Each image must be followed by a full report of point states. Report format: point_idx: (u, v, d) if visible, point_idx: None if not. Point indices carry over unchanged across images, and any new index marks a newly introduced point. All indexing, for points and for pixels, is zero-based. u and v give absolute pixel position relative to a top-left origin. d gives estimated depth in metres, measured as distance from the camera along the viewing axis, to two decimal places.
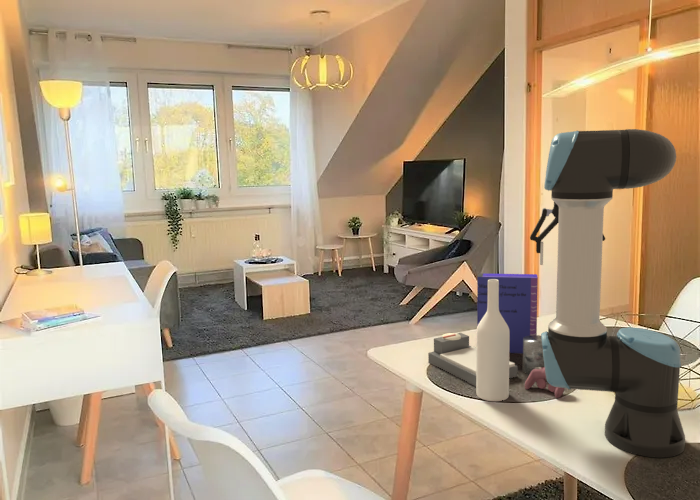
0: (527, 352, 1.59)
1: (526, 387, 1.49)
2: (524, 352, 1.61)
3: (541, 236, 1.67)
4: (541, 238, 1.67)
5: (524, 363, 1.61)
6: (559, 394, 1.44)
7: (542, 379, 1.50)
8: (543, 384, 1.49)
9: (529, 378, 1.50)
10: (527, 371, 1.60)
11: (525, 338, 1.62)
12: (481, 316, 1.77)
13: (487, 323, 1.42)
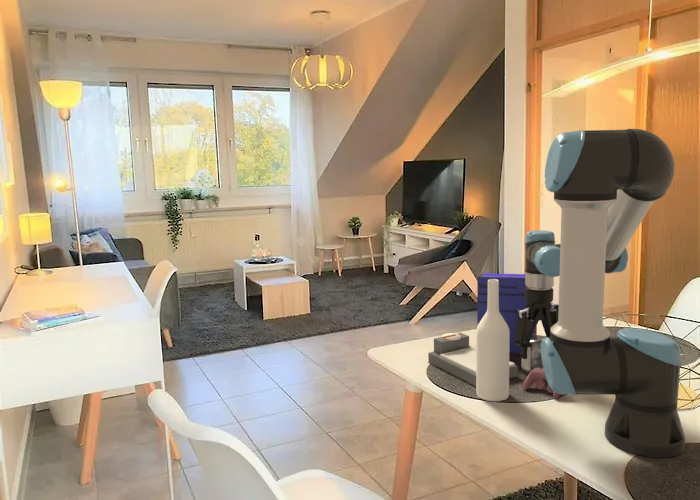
0: None
1: (525, 388, 1.49)
2: None
3: (528, 341, 1.57)
4: (528, 342, 1.58)
5: None
6: (558, 395, 1.43)
7: (541, 380, 1.49)
8: (542, 385, 1.49)
9: (528, 379, 1.50)
10: (527, 371, 1.60)
11: None
12: (481, 316, 1.77)
13: (487, 324, 1.42)
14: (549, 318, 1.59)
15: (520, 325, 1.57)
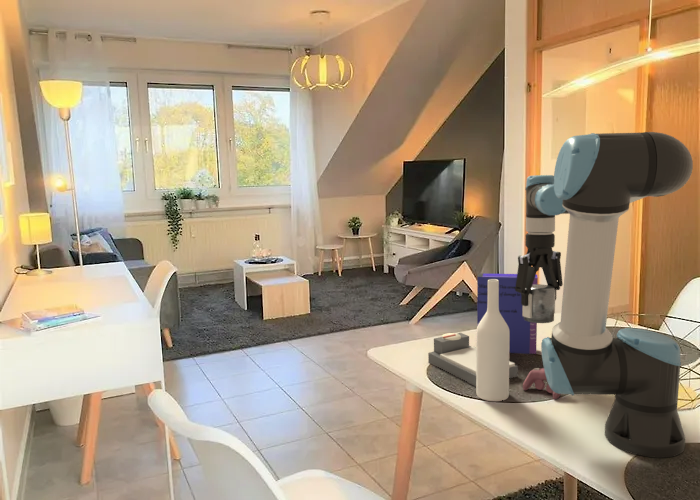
0: None
1: (524, 388, 1.49)
2: None
3: (529, 287, 1.55)
4: (529, 289, 1.55)
5: None
6: (557, 395, 1.43)
7: (540, 380, 1.49)
8: (541, 385, 1.48)
9: (527, 379, 1.49)
10: (528, 319, 1.57)
11: None
12: (481, 317, 1.77)
13: (487, 324, 1.42)
14: (550, 265, 1.57)
15: (521, 271, 1.54)
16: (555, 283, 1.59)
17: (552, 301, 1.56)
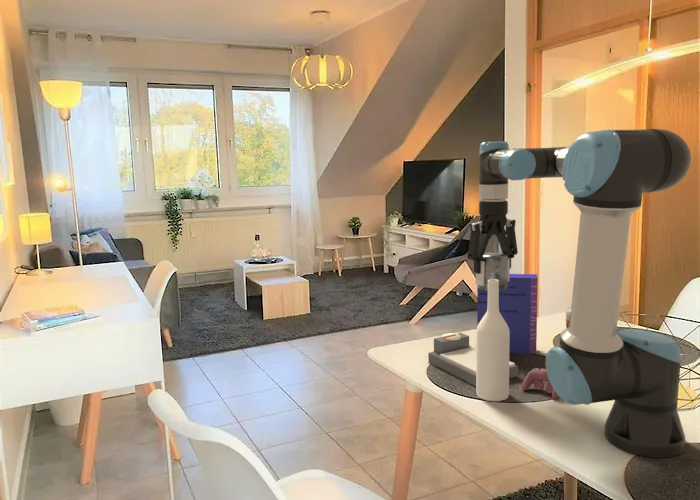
0: None
1: (523, 388, 1.49)
2: None
3: (481, 254, 1.54)
4: (481, 256, 1.54)
5: None
6: (557, 395, 1.43)
7: (539, 380, 1.49)
8: (540, 385, 1.48)
9: (526, 379, 1.49)
10: (481, 287, 1.57)
11: None
12: (481, 317, 1.77)
13: (487, 323, 1.42)
14: (504, 232, 1.56)
15: (473, 238, 1.53)
16: (509, 251, 1.58)
17: (505, 269, 1.55)
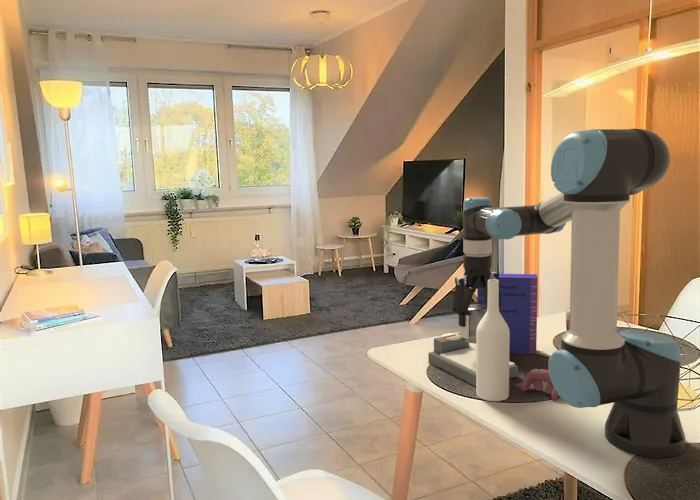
0: None
1: (523, 389, 1.48)
2: None
3: (466, 308, 1.56)
4: (466, 310, 1.56)
5: None
6: (556, 396, 1.42)
7: (539, 381, 1.48)
8: (540, 386, 1.48)
9: (526, 380, 1.49)
10: (466, 339, 1.59)
11: None
12: None
13: (487, 323, 1.42)
14: None
15: (458, 292, 1.55)
16: None
17: None
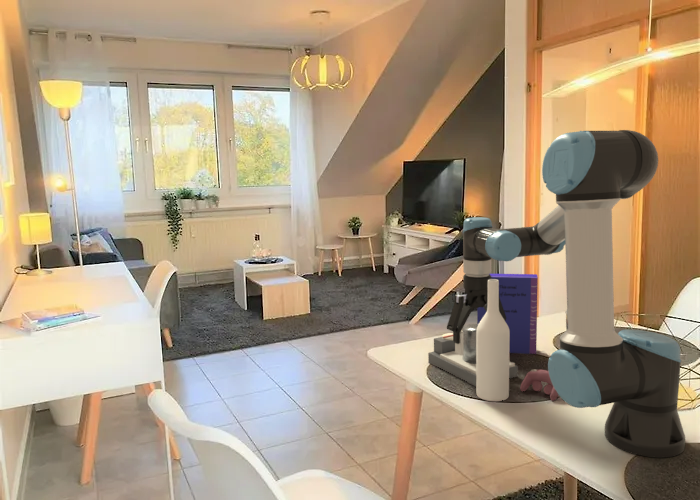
0: (466, 341, 1.59)
1: (522, 389, 1.48)
2: (463, 340, 1.60)
3: (461, 325, 1.56)
4: (461, 327, 1.56)
5: None
6: (555, 396, 1.42)
7: (538, 381, 1.48)
8: (539, 386, 1.48)
9: (525, 380, 1.48)
10: (466, 359, 1.60)
11: (465, 327, 1.62)
12: (481, 317, 1.77)
13: (487, 324, 1.42)
14: None
15: (455, 309, 1.56)
16: None
17: None
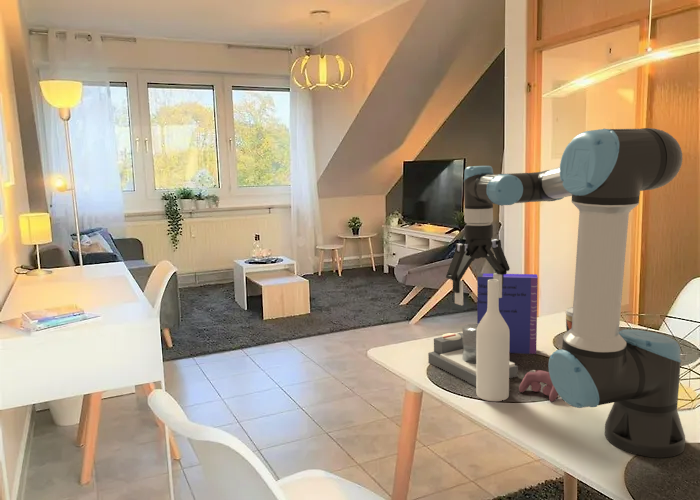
0: (466, 341, 1.59)
1: (520, 390, 1.48)
2: (463, 341, 1.60)
3: (461, 274, 1.53)
4: (461, 276, 1.53)
5: (463, 352, 1.61)
6: (554, 397, 1.42)
7: (537, 382, 1.48)
8: (538, 387, 1.47)
9: (523, 381, 1.48)
10: (466, 360, 1.60)
11: (465, 327, 1.62)
12: (481, 316, 1.77)
13: (487, 323, 1.42)
14: (491, 254, 1.57)
15: (456, 258, 1.53)
16: (501, 268, 1.60)
17: None
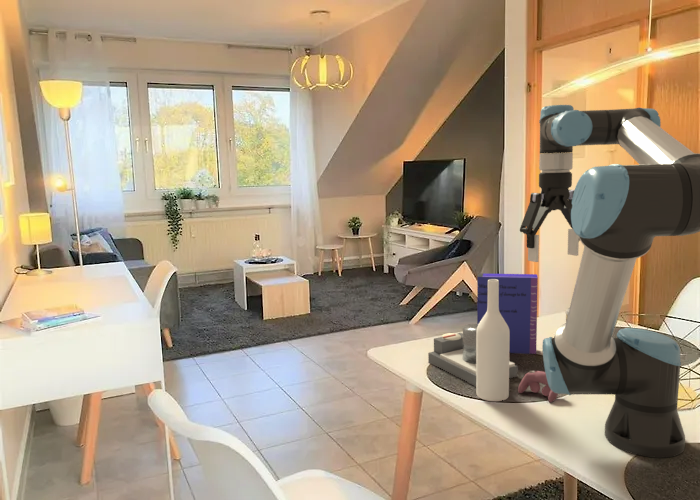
0: (466, 341, 1.59)
1: (519, 391, 1.47)
2: (463, 340, 1.60)
3: (536, 227, 1.37)
4: (536, 229, 1.37)
5: (463, 351, 1.61)
6: (553, 398, 1.41)
7: (536, 383, 1.47)
8: (537, 388, 1.47)
9: (522, 382, 1.48)
10: (466, 359, 1.60)
11: (465, 326, 1.62)
12: (481, 317, 1.77)
13: (487, 324, 1.42)
14: (569, 206, 1.40)
15: (531, 209, 1.37)
16: None
17: None
